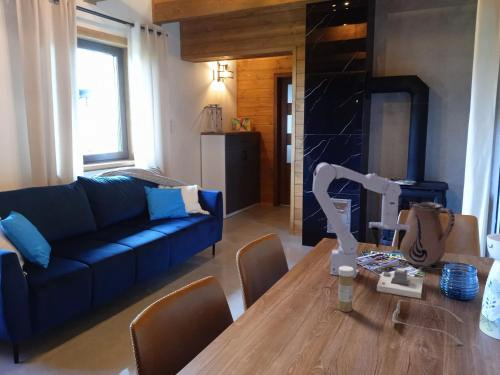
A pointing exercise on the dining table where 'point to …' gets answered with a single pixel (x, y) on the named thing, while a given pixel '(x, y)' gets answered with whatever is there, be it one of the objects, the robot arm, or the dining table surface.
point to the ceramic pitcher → (425, 234)
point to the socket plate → (411, 290)
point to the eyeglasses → (423, 327)
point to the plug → (400, 276)
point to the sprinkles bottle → (345, 288)
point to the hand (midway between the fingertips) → (388, 247)
